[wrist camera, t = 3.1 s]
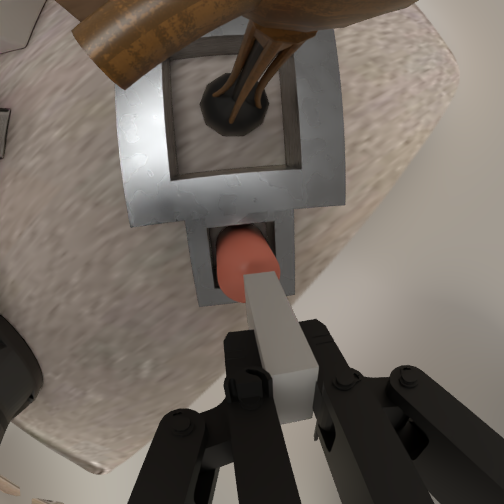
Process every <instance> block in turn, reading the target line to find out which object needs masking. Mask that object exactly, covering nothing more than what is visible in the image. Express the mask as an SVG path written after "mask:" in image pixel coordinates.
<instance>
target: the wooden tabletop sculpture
mask: <svg viewBox="0 0 504 504" xmlns="http://www.w3.org/2000/svg"><path fill="white" fill-rule="evenodd" d="M417 1H418V0H109V1H108V2H106V3H105V4H104V5H102V6H101V7H100V8H98V9H97V10H96V11H94V12H93V13H92V14H91V15H89V16H88V17H87V18H86V19H84V20H83V21H82V22H81V23H80V24H78V25H77V26H76V27H75V28H74V29H73V30H72V33H73V36H74V37H75V39H76V40H77V42H78V43H79V45H80V46H81V47H82V48H83V50H84V51H85V52H86V53H87V55H88V56H89V57H90V58H91V59H92V60H93V61H94V63H95V64H96V65H97V66H98V67H99V68H100V69H101V70H102V71H103V72H104V73H105V74H106V75H107V76H108V77H109V78H110V79H111V80H112V81H113V82H114V83H115V84H117V85H118V86H119V87H120V88H122V89H123V90H126V89H128V88H129V87H130V86H131V85H133V84H134V83H135V82H136V81H138V80H139V79H140V78H141V77H143V76H144V75H145V74H147V73H148V72H149V71H151V70H152V69H153V68H155V67H156V66H157V65H159V64H160V63H162V62H163V61H165V60H166V59H167V58H169V57H170V56H172V55H173V54H175V53H176V52H178V51H179V50H181V49H182V48H184V47H186V46H187V45H189V44H190V43H192V42H194V41H195V40H197V39H199V38H200V37H202V36H204V35H205V34H207V33H209V32H211V31H213V30H214V29H216V28H218V27H220V26H222V25H224V24H226V23H228V22H229V21H231V20H233V19H235V18H237V17H240V16H243V17H245V18H247V19H249V22H248V25H247V28H246V31H245V34H244V37H243V40H242V44H241V47H240V50H239V53H238V56H237V59H236V62H235V64H234V67H233V70H232V73H225V74H223V75H222V76H220V77H218V78H217V79H215V80H214V81H212V82H211V83H209V84H208V85H207V87H206V89H205V92H204V94H203V97H202V100H201V102H200V108H201V111H202V114H203V117H204V120H205V123H206V125H208V126H209V127H211V128H212V129H214V130H215V131H217V132H218V133H219V134H221V135H222V136H244V135H246V134H247V133H249V132H250V131H252V130H253V129H255V128H256V127H258V126H259V125H261V124H262V122H263V119H264V117H265V114H266V111H267V109H268V106H269V102H268V99H267V96H266V93H265V90H264V88H265V87H266V85H267V83H268V82H269V81H270V79H271V78H272V77H273V76H274V74H275V73H276V72H277V71H278V70H279V68H280V67H281V66H282V65H283V64H284V63H285V62H286V61H287V60H288V59H289V58H290V57H291V56H292V55H293V54H294V53H295V52H296V51H297V50H298V49H299V48H300V47H301V46H302V44H303V43H304V42H305V41H306V40H308V39H311V38H313V37H315V36H316V33H317V31H318V30H326V29H335V28H344V27H347V26H349V25H352V24H355V23H358V22H361V21H364V20H367V19H370V18H373V17H376V16H379V15H383V14H386V13H389V12H393V11H397V10H400V9H404V8H407V7H409V6H410V5H412V4H413V3H415V2H417ZM279 51H280V53H279V54H278V52H279ZM277 54H278V55H277ZM276 55H277V56H276ZM275 56H276V58H275ZM274 58H275V59H274ZM273 59H274V60H273ZM272 60H273V62H272ZM271 62H272V63H271ZM270 63H271V64H270ZM269 64H270V66H269ZM268 66H269V67H268ZM267 67H268V69H267V70H266V68H267ZM265 70H266V72H265V73H264V75H263V76H262V78H261V79H260V81H259V82H258V79H259V78H260V77H261V75H262V74H263V72H264V71H265Z"/></svg>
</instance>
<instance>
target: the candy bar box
mask: <svg viewBox="0 0 504 504" xmlns="http://www.w3.org/2000/svg"><path fill="white" fill-rule="evenodd" d="M9 114H10V109H6V108H0V159H3V157H4V151H5V142H6V132H7V126H8V121H9Z"/></svg>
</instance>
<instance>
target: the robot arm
mask: <svg viewBox="0 0 504 504" xmlns="http://www.w3.org/2000/svg"><path fill="white" fill-rule="evenodd" d="M243 278H244V289H245V299H246V310H247V320H248V326H249V330H245V331H237V332H228V334H227V336H226V338H225V340H224V352H225V366H226V378H225V381H224V390H225V395H226V397H225V399H224V400H223V402H222V403H221V404H220V405H218V406H217V407H215V408H213V409H210V410H208V411H205V412H202V413H198V412H196V411H194V410H191V409H176V410H173V411H170V412H169V413H168V414H166V415H165V416H164V417H163V418H162V420H161V421H160V423H159V426H158V428H157V431H156V433H155V436H154V438H153V440H152V443H151V446H150V448H149V450H148V453H147V455H146V458H145V461H144V463H143V465H142V468H141V470H140V473H139V475H138V478H137V481H136V483H135V486H134V488H133V491H132V493H131V496H130V498H129V501H128V503H127V504H212V500H213V496H214V491H215V487H216V482H217V478H218V473H219V469H220V467H222V466H224V465H227V464H229V463H232V462H234V469H235V476H236V484H237V492H238V500H239V504H301V500H300V497H299V493H298V489H297V486H296V482H295V478H294V475H293V471H292V467H291V463H290V460H289V456H288V452H287V448H286V444H285V441H284V437H283V433H282V429H281V424H286V423H291V422H297V421H301V420H306V419H310V418H312V415H313V411H314V413H315V416H316V419H317V422H316V427H315V433H314V441H316V440H317V439H318V437H319V439H320V442H321V445H322V448H323V451H324V454H325V456H326V459H327V462H328V465H329V468H330V471H331V474H332V477H333V479H334V482H335V485H336V488H337V491H338V493H339V496H340V499H341V502H342V504H434V502H433V500H432V498H431V496H430V494H429V492H430V493H431V494H432V496H434V497H435V499H436V500H437V501H438V502H439V503H440V504H504V439H503V438H502V437H501V436H500V435H499V434H498V433H496V432H495V431H494V430H493V429H492V428H490V427H489V426H488V425H487V424H486V423H484V422H483V421H482V420H481V419H480V418H479V417H477V416H476V415H475V414H474V413H473V412H471V411H470V410H469V409H468V408H467V407H466V406H464V405H463V404H462V403H461V402H459V401H458V400H457V399H456V398H455V397H453V396H452V395H451V394H450V393H449V392H447V391H446V390H445V389H444V388H443V387H441V386H440V385H439V384H438V383H436V382H435V381H434V380H433V379H431V378H430V377H429V376H428V375H427V374H425V373H424V372H423V371H422V370H420V369H418V368H417V367H414V366H410V365H404V366H399V367H397V368H395V369H394V370H393V371H392V372H391V374H390V377H379V378H370V377H364V376H363V375H362V374H361V373H360V372H359V371H357V370H355V369H353V368H350V367H349V366H348V364H347V362H346V360H345V359H344V357H343V355H342V353H341V352H340V350H339V348H338V346H337V345H336V343H335V342H334V340H333V338H332V336H331V335H330V333H329V331H328V329H327V328H326V326H325V325H324V324H323V323H321V322H320V321H318V320H317V319H313V320H307V321H302V322H298V320H297V318H296V316H295V314H294V312H293V310H292V307H291V305H290V303H289V301H288V299H287V297H286V295H285V292H284V290H283V288H282V286H281V284H280V282H279V280H278V277H277V275H276V273H275V271H271V272H262V273H254V274H246V275H243ZM41 387H42V374H41V370H40V368H39V365H38V363H37V361H36V359H35V357H34V355H33V354H32V352H31V350H30V349H29V347H28V346H27V345H26V343H25V342H24V340H23V339H22V338H21V337H20V335H19V334H18V333H17V332H16V331H15V330H14V328H13V327H12V326H11V325H10V324H9V323H8V322H7V321H6V320H5V319H4V318H2V317H1V316H0V444H1V441H2V439H3V436H4V434H5V431H6V429H7V427H8V424H9V423H10V421H11V420H12V419H13V418H15V417H16V416H17V415H18V414H19V413H20V412H22V411H23V410H24V409H25V408H26V407H27V406H28V405H29V404H31V403H32V402H33V401H34V400H35V399H36V397H37V395H38V393H39V391H40V389H41ZM428 491H429V492H428Z"/></svg>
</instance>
